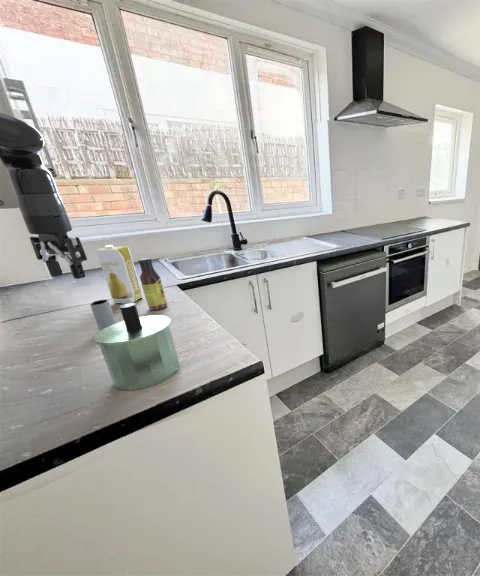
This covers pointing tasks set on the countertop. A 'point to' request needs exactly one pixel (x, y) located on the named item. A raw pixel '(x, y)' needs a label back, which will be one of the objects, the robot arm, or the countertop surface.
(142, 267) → the sauce bottle
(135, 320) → the tin lid
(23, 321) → the countertop surface
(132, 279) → the juice carton
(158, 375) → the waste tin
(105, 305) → the grey tube
